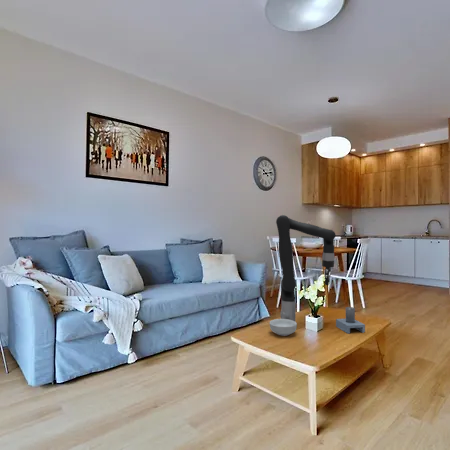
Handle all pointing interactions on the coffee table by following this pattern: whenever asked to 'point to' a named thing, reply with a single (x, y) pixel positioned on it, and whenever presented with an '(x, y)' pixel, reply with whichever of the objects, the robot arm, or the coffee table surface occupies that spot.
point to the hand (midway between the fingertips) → (327, 283)
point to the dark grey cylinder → (350, 315)
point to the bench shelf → (349, 325)
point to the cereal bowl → (283, 326)
